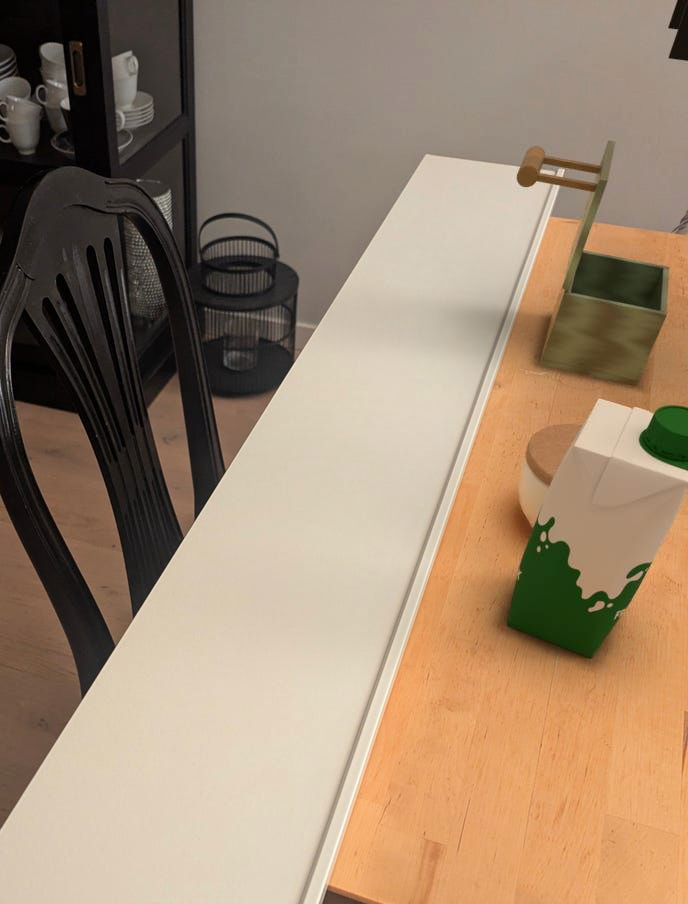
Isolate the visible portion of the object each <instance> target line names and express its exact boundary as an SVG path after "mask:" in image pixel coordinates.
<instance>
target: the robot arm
mask: <svg viewBox="0 0 688 904" xmlns="http://www.w3.org/2000/svg"><path fill="white" fill-rule="evenodd" d="M667 28H668V29H669V30H677V31H676V34H675V37H674V40H673V43H672V46H671V49H670V51H669V54H668V59H669V60H677V61H686V62H688V0H676V3H675V6H674V9H673V12H672V15H671V18H670V21H669V23H668V27H667Z"/></svg>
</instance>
